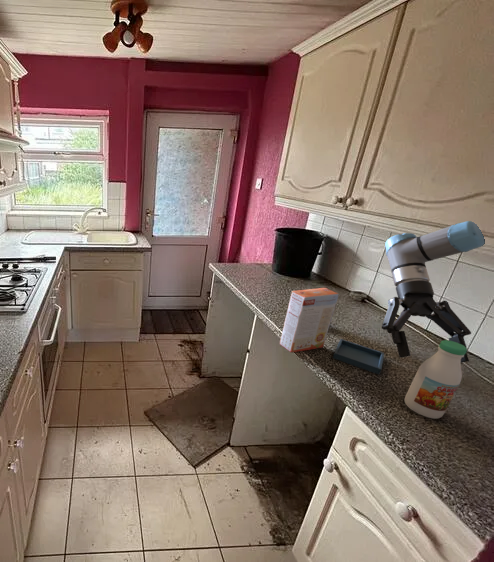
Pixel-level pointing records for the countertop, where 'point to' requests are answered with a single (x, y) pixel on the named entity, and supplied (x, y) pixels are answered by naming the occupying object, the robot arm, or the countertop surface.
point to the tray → (359, 356)
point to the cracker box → (308, 319)
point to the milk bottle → (436, 381)
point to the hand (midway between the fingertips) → (433, 359)
